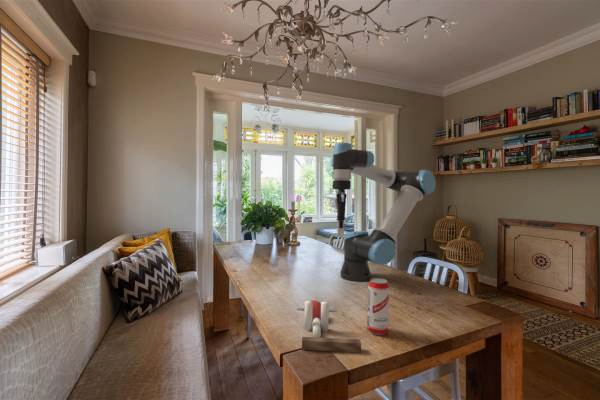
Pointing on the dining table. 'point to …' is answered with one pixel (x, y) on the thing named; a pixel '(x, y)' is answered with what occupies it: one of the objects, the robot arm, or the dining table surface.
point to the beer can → (378, 306)
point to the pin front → (316, 328)
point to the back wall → (331, 344)
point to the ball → (316, 309)
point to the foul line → (304, 309)
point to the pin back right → (324, 316)
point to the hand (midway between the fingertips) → (340, 235)
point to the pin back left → (308, 315)
